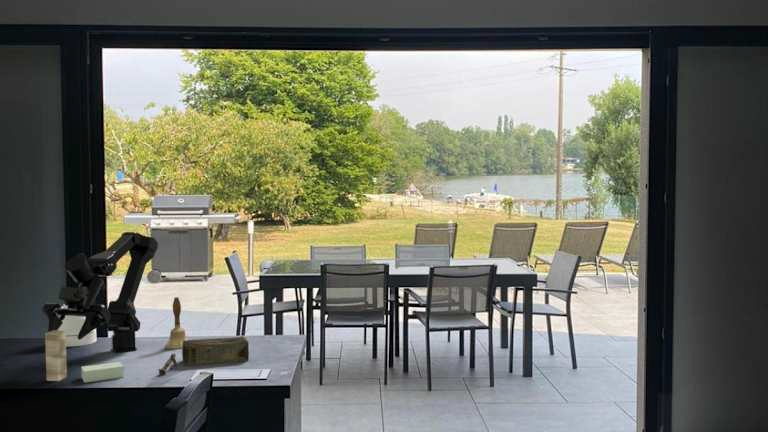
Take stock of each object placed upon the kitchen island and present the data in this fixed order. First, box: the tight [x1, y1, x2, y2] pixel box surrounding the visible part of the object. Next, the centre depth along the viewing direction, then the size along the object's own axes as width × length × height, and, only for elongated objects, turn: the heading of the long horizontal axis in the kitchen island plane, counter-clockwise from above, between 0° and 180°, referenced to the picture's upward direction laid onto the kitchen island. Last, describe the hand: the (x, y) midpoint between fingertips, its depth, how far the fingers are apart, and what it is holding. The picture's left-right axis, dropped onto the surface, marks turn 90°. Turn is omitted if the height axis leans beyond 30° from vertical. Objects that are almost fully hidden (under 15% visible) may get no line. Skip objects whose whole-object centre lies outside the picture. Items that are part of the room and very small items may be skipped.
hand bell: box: [164, 296, 188, 350], centre depth 227 cm, size 8×8×16 cm
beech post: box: [44, 330, 68, 382], centre depth 190 cm, size 4×4×13 cm
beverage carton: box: [181, 335, 250, 367], centre depth 209 cm, size 8×19×7 cm, turn 109°
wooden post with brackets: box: [158, 353, 178, 376], centre depth 198 cm, size 2×8×4 cm, turn 167°
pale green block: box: [80, 361, 125, 383], centre depth 192 cm, size 10×6×3 cm, turn 120°
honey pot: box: [58, 303, 98, 348], centre depth 234 cm, size 13×13×18 cm
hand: (63, 338), depth 193 cm, fingers open, 9 cm apart
